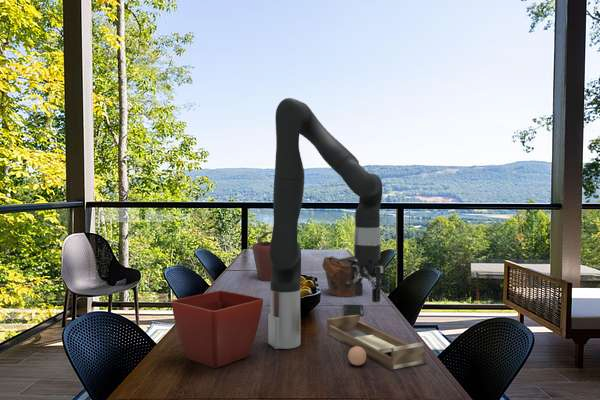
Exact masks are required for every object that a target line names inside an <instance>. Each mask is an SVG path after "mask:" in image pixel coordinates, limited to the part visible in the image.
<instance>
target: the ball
mask: <svg viewBox="0 0 600 400" xmlns="http://www.w3.org/2000/svg"><path fill="white" fill-rule="evenodd" d="M347 358H348V360H349V362H350V363H351V364H352V365H354V366H361V365H363V364H364V363H365V362H366V360H367V356H366V352H365V350H364V349H363V348H361V347H359V346H355V347H353V348H351V347H350V349H349V351H348V354H347Z"/></svg>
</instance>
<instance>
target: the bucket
mask: <svg viewBox="0 0 600 400" xmlns="http://www.w3.org/2000/svg"><path fill="white" fill-rule="evenodd" d="M272 232H273V231H267V232H264V233H262V234H261V235H260V236H259V237H258V238H257V241H256V242H257V243H255V242H254V243H252V253H253V259H254V263H255V268H256V273H257V279H258V280H260V281H262V282H269V283H271V276H272V262H271V260H270V257H269V249H270V244H271V241H262V239H265V238H266V237H267V236H268V235H270V234H272Z"/></svg>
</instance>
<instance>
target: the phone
mask: <svg viewBox="0 0 600 400" xmlns="http://www.w3.org/2000/svg"><path fill="white" fill-rule="evenodd" d="M342 309H343V310H342V317H344V316H351V315H360V318H361V317H364V316H365V315H364V305H362V304H347V303H346V304H343V307H342Z"/></svg>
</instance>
